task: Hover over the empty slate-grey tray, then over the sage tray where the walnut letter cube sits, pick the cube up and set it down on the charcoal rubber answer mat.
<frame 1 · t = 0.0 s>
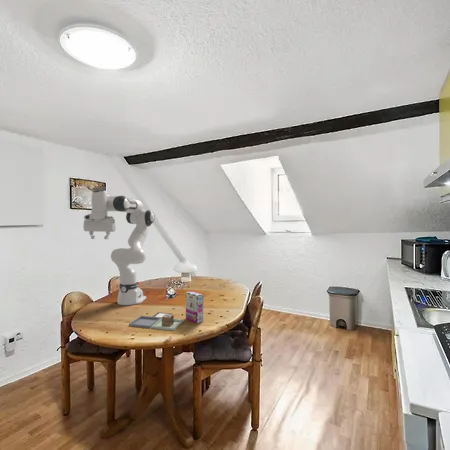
hand: (99, 239, 168), 48 cm above the table, fingers open, 8 cm apart
candy bar box: (194, 320, 164), on the table
tray B: (167, 325, 156), on the table
answer mat: (161, 316, 171), on the table
tray A: (145, 323, 159), on the table
letter cube: (167, 324, 156), resting on tray B
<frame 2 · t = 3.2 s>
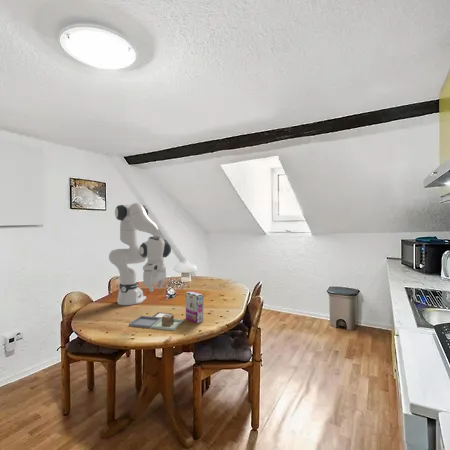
hand: (155, 289, 157), 20 cm above the table, fingers open, 8 cm apart
nothing on the table moved.
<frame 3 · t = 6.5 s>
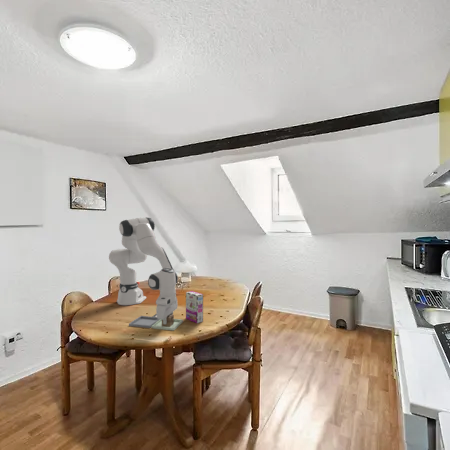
hand: (167, 321, 156), 2 cm above the table, fingers closed on letter cube, 5 cm apart
letter cube: (167, 324, 156), resting on tray B, touching gripper
everything else where it was.
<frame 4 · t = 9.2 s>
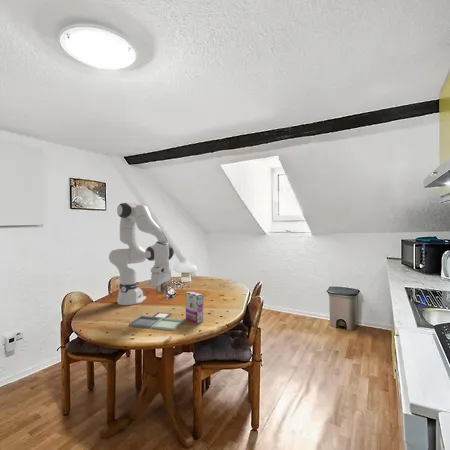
hand: (161, 289, 171), 16 cm above the table, fingers closed on letter cube, 5 cm apart
letter cube: (162, 292, 171), point 15 cm above the table, touching gripper
everything else where it was.
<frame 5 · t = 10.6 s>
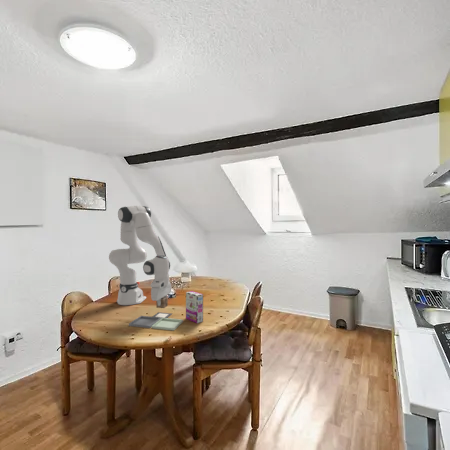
hand: (161, 304, 171), 8 cm above the table, fingers closed on letter cube, 5 cm apart
letter cube: (162, 306, 171), point 6 cm above the table, touching gripper
everything else where it was.
when the fingers open (3 cm above the table, at t = 11.9 s): letter cube stays where it is, resting on answer mat.
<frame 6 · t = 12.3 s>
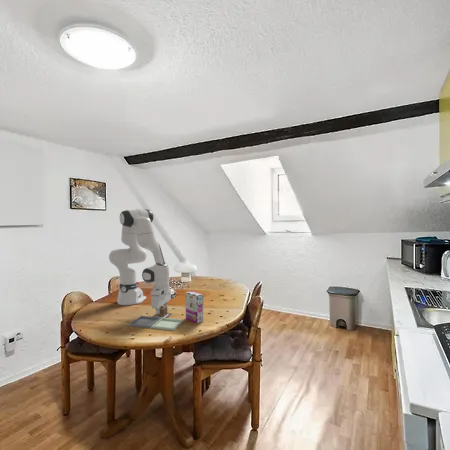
hand: (161, 311, 171), 3 cm above the table, fingers open, 8 cm apart
letter cube: (161, 315, 171), resting on answer mat
everything else where it was.
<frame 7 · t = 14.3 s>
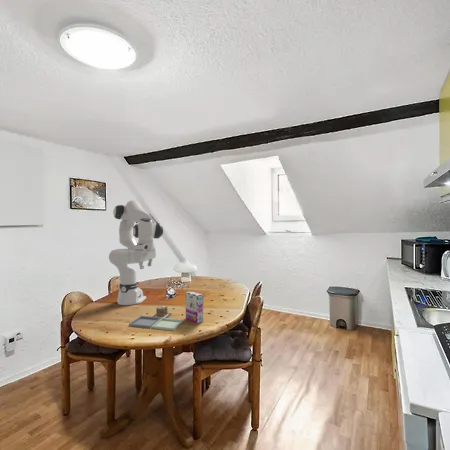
hand: (145, 267, 169), 31 cm above the table, fingers open, 8 cm apart
nothing on the table moved.
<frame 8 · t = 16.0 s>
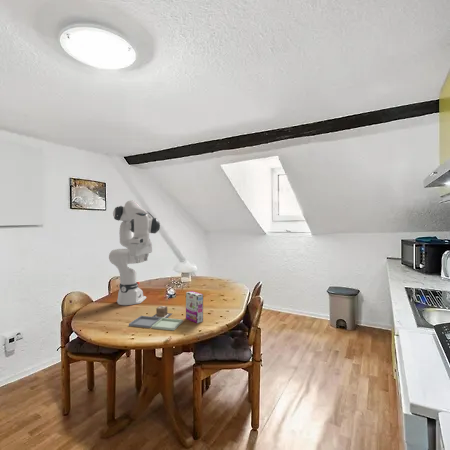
hand: (141, 261, 168), 34 cm above the table, fingers open, 8 cm apart
nothing on the table moved.
at the end: letter cube inside the target area on the answer mat (0.0 cm from its centre), point 0.5 cm above the answer mat's base; letter cube tilted 0°; the gripper is holding nothing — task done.
